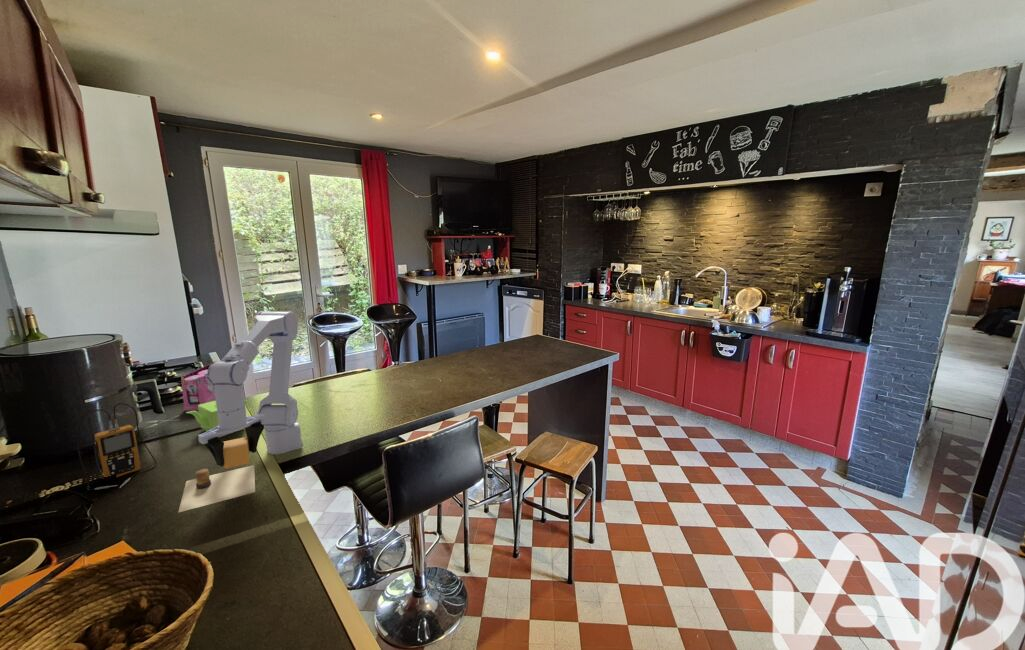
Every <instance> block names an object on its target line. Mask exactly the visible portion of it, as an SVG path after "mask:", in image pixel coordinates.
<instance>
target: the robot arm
mask: <svg viewBox="0 0 1025 650" xmlns="http://www.w3.org/2000/svg"><path fill="white" fill-rule="evenodd" d="M253 325H254V326H253V327H252V328H251V330H250V332H249V333H248V334H247V336H246V338H244V340H240V341H236V342H235V343H234V345H233V347H231V348H230V350H229V351H228V352H227V353H226V354H225V355H224V356H223V358H222V359H221V360H218V362H215V361H214V362H215V363H214V364H212V365H211V366H210V367H209V369H208V372H207V376H206V378H207V381H208V383H209V384H210V385H211V388H212V391H213V392H215V397H216V405H217V413H218V421H219V426H217V427H215V428H213V429H211V430H209V431H205V432H203V433H200V434H198V435H197V438H198V439H197V440H198V443H199V444H202V445H204V446H205V448H207V450H209V452H210V453H211V455H212V457H213V458H214V460H215V463H216V465H217V466H218V467H224V456H223V448H224V441H221V437H224V436H226V435H229V434H233V433H235V432H239V431H241V430H244V432H245V435H246V437H248V444H249V453H250V452H251V453H252V454H254V453H257V448H258V443H259V440H260V437H261V435H262V433H263V431H264V433H265V444H266V452H267V454H269V455H281V454H285V453H287V452H291V451H295V450H299V449H300V450H301V449H303V448H302V447H303V446H302V445H303V440H302V433H301V431H302V430H301V424H300V422H299V421H298V418H299V410H298V400H297V399H296V398H294V397H293V396H292V395H290V394H289V388H290V378H291V377H290V373H291V366H292V354H293V353H292V352H293V342H294V340H296V339H298V338H297V337H298V336H297V335H298V330H299V329H298V328H299V319H298V317H297V315H296V314H295V312H294V311H266V310H260V311H258V312H257V313H256V315H255V316H254V317H253ZM266 339H268V340H271V342H272V343H273V346H272V347H273V348H272V357H271V358H272V359H271V368H270V380H269V391H268V395H267V396H266V397H264V398H263V399H261V400H260V401H259V405H258V406H259V407H258V409H257V411H256V414H254V415H250V416H247V410H246V406H245V400H246V399H245V392H244V386H243V385H244V384H243V383H244V382H245V381H247V380H246V379H247V377H248V372H249V370H250V365H251V363H252V362H253V361H254V360H255V359H256V357H258V356H259V355H258V354H259V346H260V345H261V344H262V343H263V342H264V341H265V340H266Z"/></svg>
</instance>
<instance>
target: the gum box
mask: <svg viewBox="0 0 1025 650" xmlns="http://www.w3.org/2000/svg"><path fill="white" fill-rule="evenodd" d="M218 361H219V360H218ZM218 361H214V362H211V363H209V364H207V365H205V366H202V367H200V368H198V369H196V370H194V371H192V372H189V373H186V374H185V375H183V376H181V377H180V378H181V389H182V391H181V392H182V399H183V408H184V411H185V412H188V411H199V409H198V405H200V404H204V403H208V402H212V401H215V400H216V397H215V392H213V391H212V388H211V385H210V384H209V383H208V381H207V378H206V376H207V372H208V369H209V367H210V366H211V365H212V364H214V363H215V362H218Z"/></svg>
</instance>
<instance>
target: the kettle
mask: <svg viewBox="0 0 1025 650" xmlns="http://www.w3.org/2000/svg"><path fill="white" fill-rule="evenodd" d="M244 400H245V407H246V406H247V404H248V400H247V399H244ZM198 409H199V410H188V411H185V414H191V415H192V416H194V417H195V419H196V422H197V423H198V424H200V428H201V429H203V430H204V431H205V432H207V431H209V430H211V429H213V428H215V427H217V426H219V421H218V413H217V405H216V400H215V401H212V402H208V403H204V404H200V405H198Z"/></svg>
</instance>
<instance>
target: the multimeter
mask: <svg viewBox="0 0 1025 650" xmlns="http://www.w3.org/2000/svg"><path fill="white" fill-rule="evenodd" d="M119 405H122V406H123V405H124V406H128V407H129V408H130V409H132V410H133V411H134V414H135V419H136V430H137V436H138V438H139V439H140V442H142V444H143V445H144V447H145V449H146V450H147V452H148V453H149V455H150V456H151V457H152V460H153V461H154V463H155V465H154V466H152V467H151V468H149V469H147V470H143V471H139V470H141V468H142V467H141V462H140V455H139V448H138V443H137V436H136V431H135V427H134V426H133V425H132V424H126V425H123V426H120V427H119V423H118V421H117V418H116V412H115V411H116V410H115V408H116V407H117V406H119ZM112 410H113V418H114V427H113V424H112V420H111V415H110V412H108V411H107V410H105V409H99V411H101V412H104V413H106V414H107V415H108V423H109V430H105V431H104V430H103V431H101V432H97V433H95V434H94V446H93V449H94V450H93V451H94V456H95V463H96V465H97V467H98V469H99V471H100V472H101V476H102V475H103V476H104V477H108V476H111V475H114V474H116V475H117V476H116V478H119V477H121V476H124V475H127V474H131V473H133V472H136V473H134V474H132V475H131V476H130V477H129V478H127V479H126V480H124V482H123V483H122V484H121V485H120V486H119V488H118V489H120V488H122V487H123V486H124V485H126V484H127V483H128V482H129V481H130V480H131V479H132V478H133V477H134V476H135V475H137V474H138V475H139V474H141V473H145V472H148V471H150V470H153V469H154V468H156V467H157V464H158V463H157V460H156V459H155V457H154V456H153V454H152V452H151V451H150V450H149V448H148V446H147V445H146V443H145V442H144V440H143V439H142V437H141V434H140V432H139V431H140V430H139V423H138V422H139V421H138V414H137V411H136V410H135V408H134V407H133V406H131V405H129V404H128V403H123V402H122V403H117V404H115V405H114V406H113V409H112ZM96 411H98V409H93V410H90V411H88V412H86V413H85V414H84V415H82V418H80V420H79V423H78V426H77V432H76V448H77V455H78V458H79V461H80V465H81V467H82V470H83V473H84V476H85V479H86V484H87V491H94V490H103V489H109V488H111V487H117V486H118V484H115V485H106V486H99V487H95V488H91V489H89V488H90V483H89V482H90V481H89V479H88V476H87V473H86V470H85V466H84V463H83V460H82V456H81V453H80V446H79V431H80V427H81V423H82V421H83V419H84V417H86V416H87V415H88V414H90V413H92V412H96Z"/></svg>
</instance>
